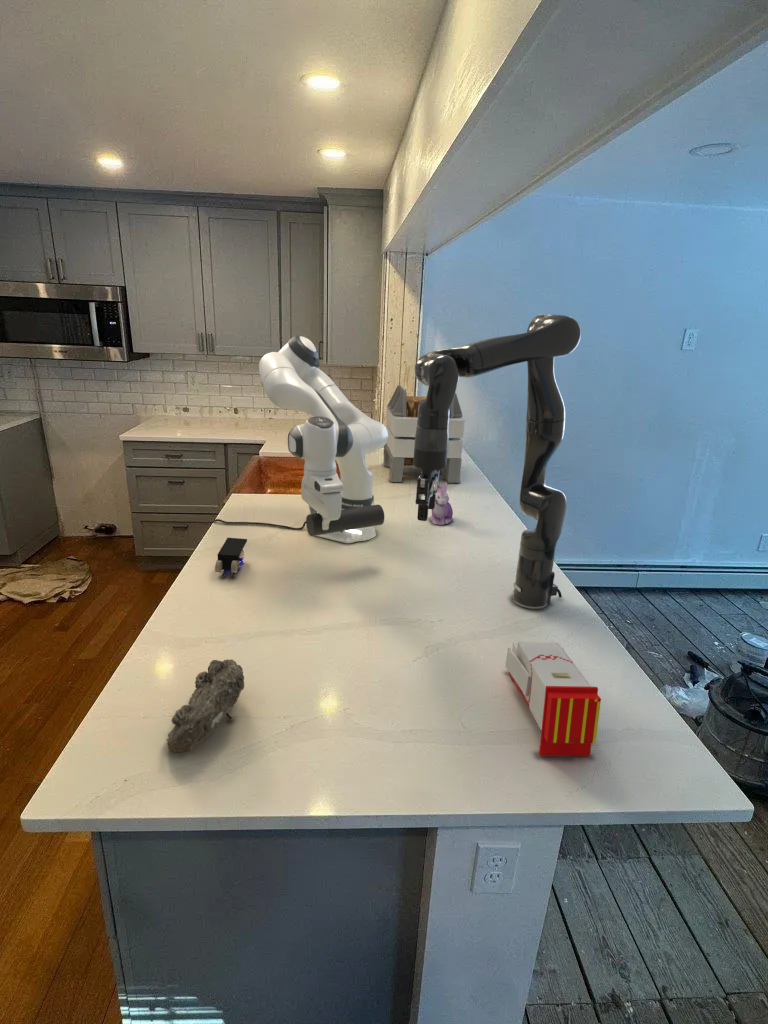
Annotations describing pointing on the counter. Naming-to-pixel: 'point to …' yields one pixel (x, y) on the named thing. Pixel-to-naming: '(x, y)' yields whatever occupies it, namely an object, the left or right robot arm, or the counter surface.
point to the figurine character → (230, 556)
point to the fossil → (206, 705)
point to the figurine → (442, 507)
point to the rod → (347, 520)
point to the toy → (556, 697)
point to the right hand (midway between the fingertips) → (426, 514)
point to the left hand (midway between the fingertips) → (319, 524)
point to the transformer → (403, 436)
